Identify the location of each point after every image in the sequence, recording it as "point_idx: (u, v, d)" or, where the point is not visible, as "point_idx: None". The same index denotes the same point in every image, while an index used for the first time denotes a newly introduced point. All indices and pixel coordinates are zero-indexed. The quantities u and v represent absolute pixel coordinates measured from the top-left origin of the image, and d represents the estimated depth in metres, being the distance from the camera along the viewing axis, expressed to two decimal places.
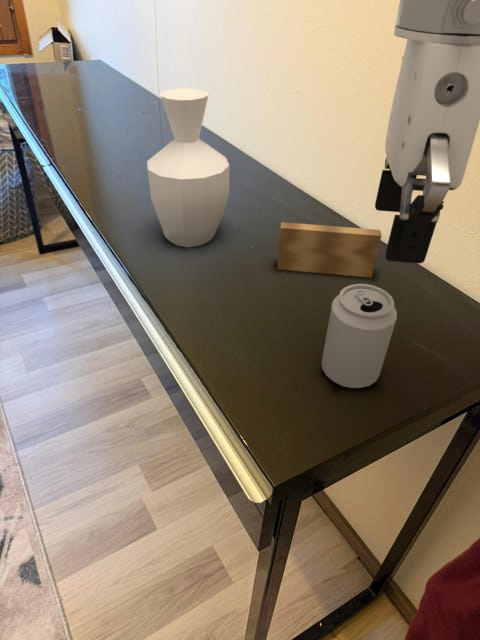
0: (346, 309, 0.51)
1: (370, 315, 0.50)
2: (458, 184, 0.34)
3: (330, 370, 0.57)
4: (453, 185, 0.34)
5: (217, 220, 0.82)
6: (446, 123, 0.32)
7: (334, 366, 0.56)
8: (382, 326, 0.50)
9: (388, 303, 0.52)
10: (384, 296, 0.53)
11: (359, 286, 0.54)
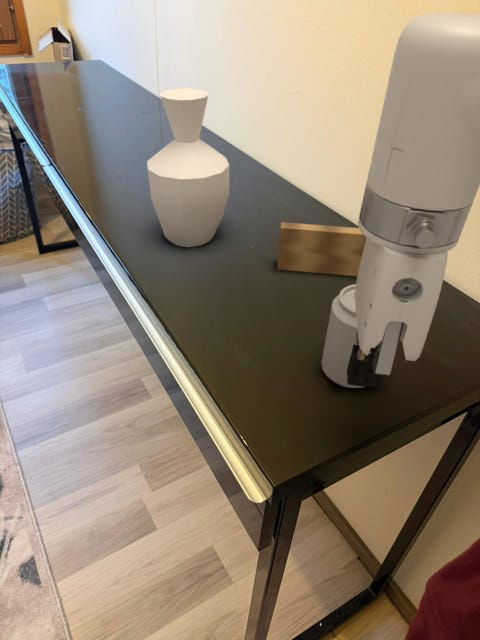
0: (346, 309, 0.51)
1: None
2: (416, 358, 0.37)
3: (330, 370, 0.57)
4: (412, 359, 0.37)
5: (217, 220, 0.82)
6: (403, 315, 0.34)
7: (334, 366, 0.56)
8: None
9: None
10: None
11: None
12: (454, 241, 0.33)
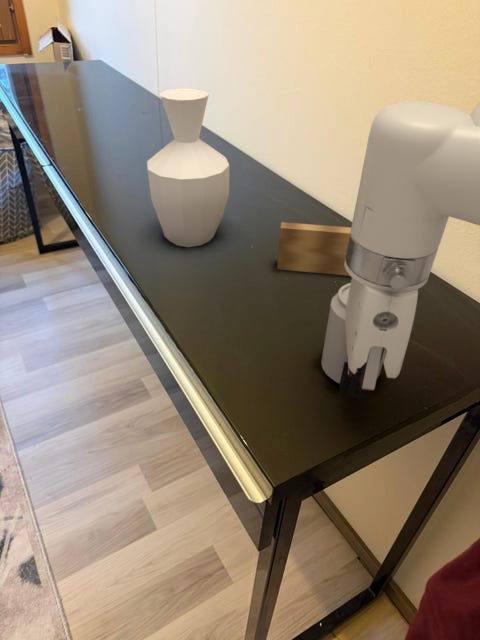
0: (345, 306, 0.51)
1: None
2: (396, 376, 0.43)
3: (330, 369, 0.57)
4: (392, 376, 0.43)
5: (217, 220, 0.82)
6: (383, 341, 0.41)
7: (334, 365, 0.56)
8: None
9: None
10: None
11: None
12: (423, 280, 0.39)
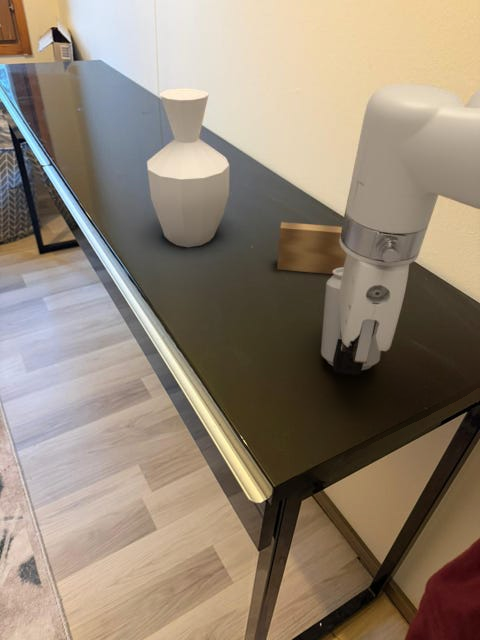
0: (339, 277, 0.54)
1: None
2: (387, 349, 0.46)
3: (329, 351, 0.57)
4: (384, 349, 0.46)
5: (217, 220, 0.82)
6: (375, 314, 0.43)
7: (333, 344, 0.56)
8: None
9: None
10: None
11: None
12: (414, 256, 0.41)
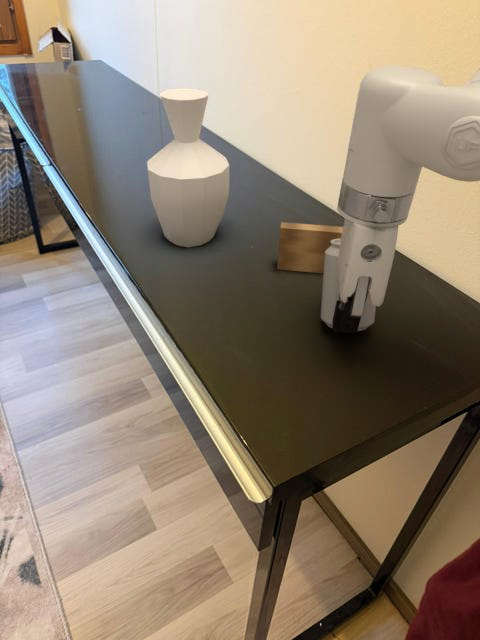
0: (337, 246, 0.60)
1: None
2: (380, 304, 0.51)
3: (329, 314, 0.62)
4: (377, 304, 0.51)
5: (217, 220, 0.82)
6: (369, 271, 0.49)
7: (332, 307, 0.62)
8: None
9: None
10: None
11: None
12: (403, 218, 0.47)
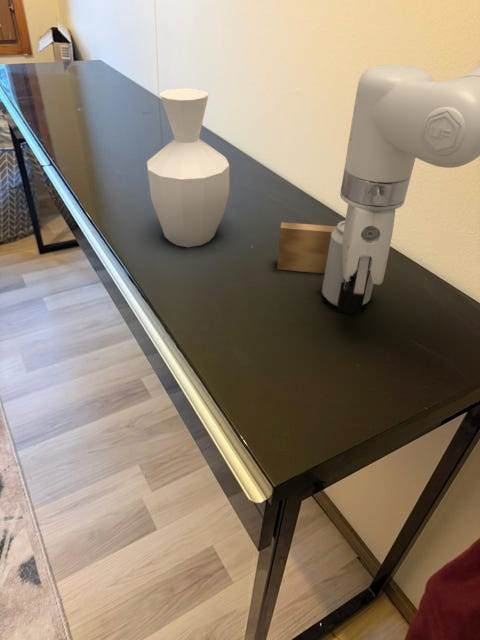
0: None
1: None
2: (380, 282, 0.56)
3: (330, 293, 0.68)
4: (377, 283, 0.56)
5: (217, 220, 0.82)
6: (369, 251, 0.53)
7: (334, 288, 0.67)
8: None
9: None
10: None
11: None
12: (399, 203, 0.52)
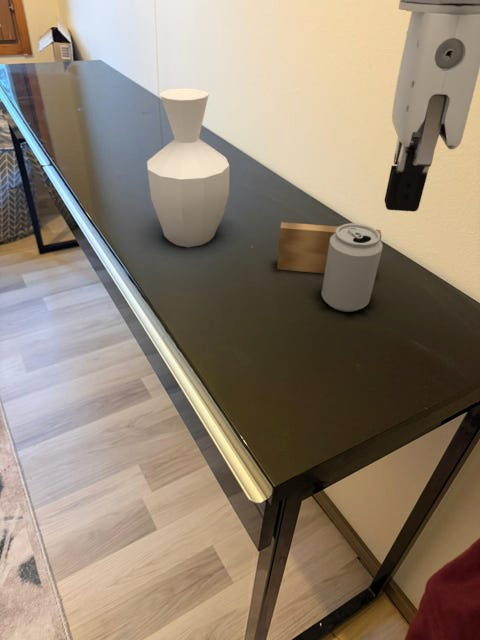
0: (342, 241, 0.63)
1: (362, 244, 0.62)
2: (458, 142, 0.38)
3: (329, 297, 0.69)
4: (453, 143, 0.38)
5: (217, 220, 0.82)
6: (446, 85, 0.35)
7: (333, 293, 0.68)
8: (371, 253, 0.63)
9: (375, 236, 0.65)
10: (371, 232, 0.66)
11: (351, 225, 0.67)
12: None
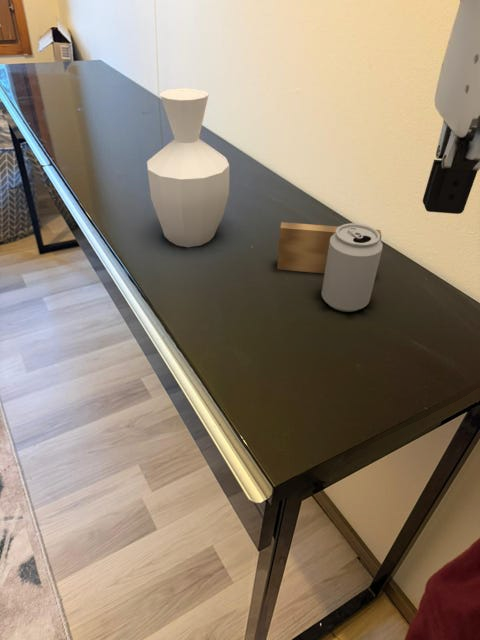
0: (342, 241, 0.63)
1: (362, 244, 0.62)
2: None
3: (329, 297, 0.69)
4: None
5: (217, 220, 0.82)
6: None
7: (333, 293, 0.68)
8: (371, 253, 0.63)
9: (375, 236, 0.65)
10: (371, 232, 0.66)
11: (351, 225, 0.67)
12: None
